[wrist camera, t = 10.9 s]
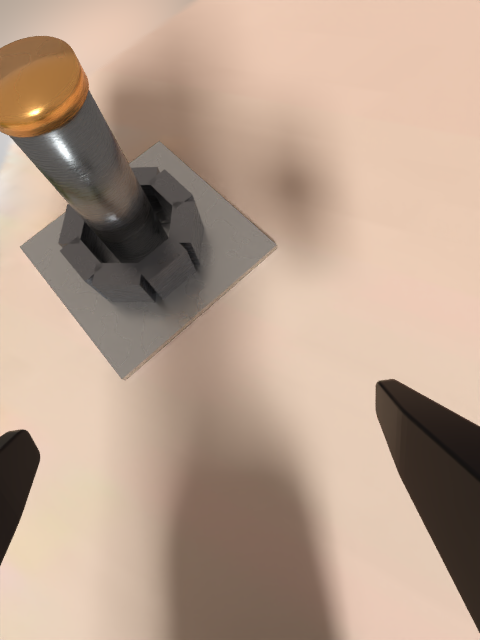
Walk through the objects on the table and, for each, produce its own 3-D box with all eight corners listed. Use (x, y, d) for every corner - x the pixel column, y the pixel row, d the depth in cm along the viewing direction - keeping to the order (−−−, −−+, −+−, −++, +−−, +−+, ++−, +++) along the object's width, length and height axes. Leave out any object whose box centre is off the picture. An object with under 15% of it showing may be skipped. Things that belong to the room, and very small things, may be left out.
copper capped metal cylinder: (136, 284, 25) (1, 134, 13) (102, 247, 27) (-48, 79, 14) (183, 245, 26) (96, 67, 14) (148, 211, 27) (40, 21, 15)
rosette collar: (125, 380, 24) (100, 370, 20) (24, 250, 28) (-10, 224, 25) (276, 248, 26) (276, 220, 22) (161, 145, 30) (146, 109, 27)
